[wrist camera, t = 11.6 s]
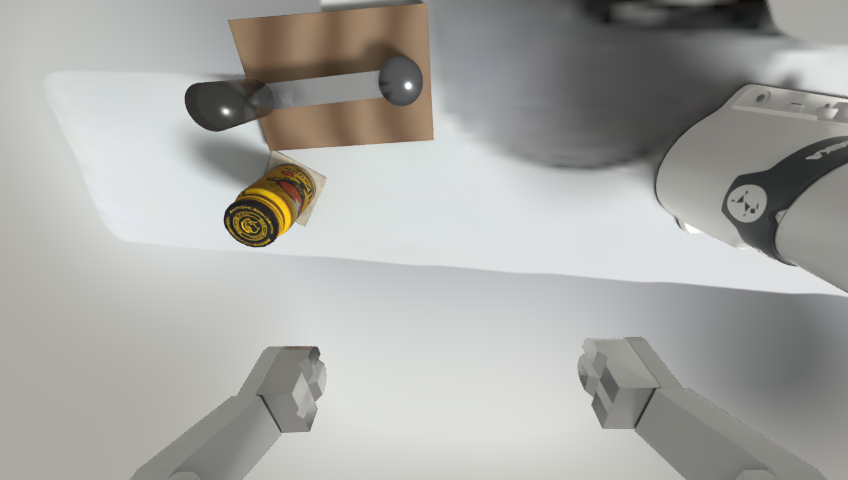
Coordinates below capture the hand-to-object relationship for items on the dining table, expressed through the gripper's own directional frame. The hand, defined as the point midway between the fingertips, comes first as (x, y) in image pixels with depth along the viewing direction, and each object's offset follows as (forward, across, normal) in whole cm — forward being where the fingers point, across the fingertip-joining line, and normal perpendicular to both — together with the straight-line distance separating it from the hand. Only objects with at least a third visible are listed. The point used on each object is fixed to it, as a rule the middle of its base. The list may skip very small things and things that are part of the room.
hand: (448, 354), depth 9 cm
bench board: (+32, +10, -6) cm, 34 cm away
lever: (+30, +11, -6) cm, 33 cm away
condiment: (+32, +20, +6) cm, 38 cm away
